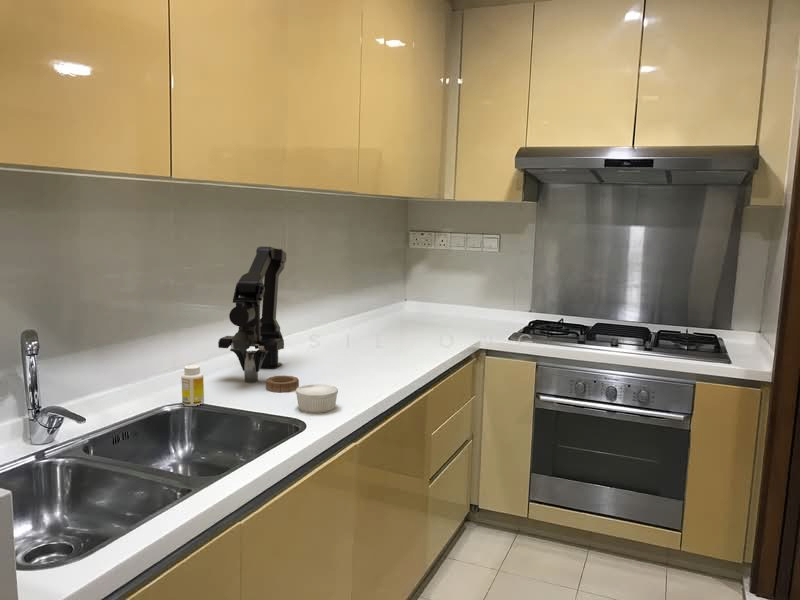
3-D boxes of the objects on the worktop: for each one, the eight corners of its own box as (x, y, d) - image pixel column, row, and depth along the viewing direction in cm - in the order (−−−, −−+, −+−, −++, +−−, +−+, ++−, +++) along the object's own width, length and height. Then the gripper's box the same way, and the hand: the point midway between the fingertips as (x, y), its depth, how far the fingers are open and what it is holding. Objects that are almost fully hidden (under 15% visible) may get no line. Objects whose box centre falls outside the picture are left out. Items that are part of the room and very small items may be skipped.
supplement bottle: (205, 400, 180) (204, 364, 178) (201, 406, 174) (200, 369, 173) (184, 401, 179) (183, 364, 178) (180, 407, 174) (178, 369, 172)
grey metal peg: (247, 378, 203) (247, 350, 202) (260, 379, 202) (259, 351, 201) (242, 382, 199) (241, 352, 198) (254, 383, 198) (254, 353, 197)
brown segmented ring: (273, 382, 199) (273, 374, 199) (302, 385, 197) (302, 376, 197) (261, 390, 190) (261, 382, 190) (291, 393, 188) (291, 384, 188)
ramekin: (317, 399, 183) (317, 381, 182) (346, 408, 176) (347, 388, 175) (286, 408, 174) (286, 389, 173) (316, 417, 167) (316, 397, 166)
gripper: (208, 323, 192) (210, 375, 194) (269, 326, 189) (269, 379, 191) (226, 317, 203) (227, 367, 205) (283, 320, 199) (283, 370, 202)
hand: (251, 371), depth 200 cm, fingers closed on grey metal peg, 4 cm apart
